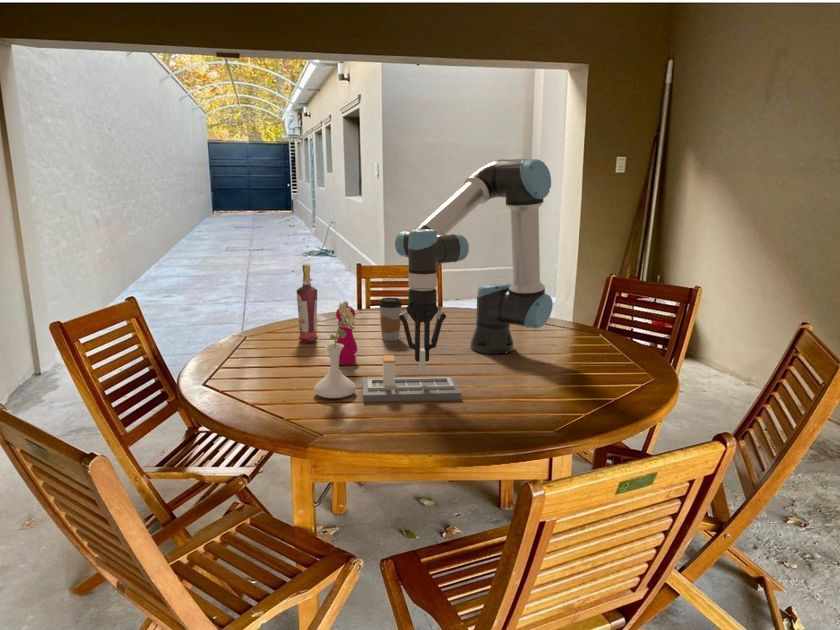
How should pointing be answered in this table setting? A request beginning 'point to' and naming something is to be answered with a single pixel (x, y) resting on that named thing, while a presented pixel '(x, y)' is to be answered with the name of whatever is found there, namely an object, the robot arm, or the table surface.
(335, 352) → the flower in vase
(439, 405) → the table surface
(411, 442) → the table surface
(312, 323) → the liquor
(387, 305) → the coffee cup
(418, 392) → the panel
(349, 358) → the pepper mill
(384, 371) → the fader
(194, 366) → the table surface
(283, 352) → the table surface
